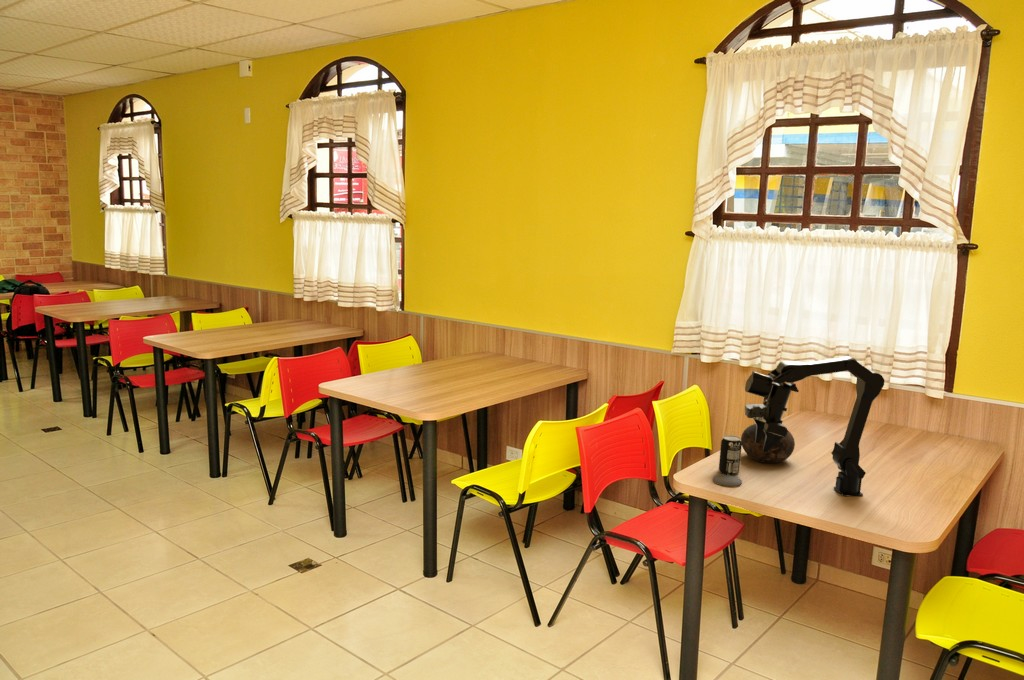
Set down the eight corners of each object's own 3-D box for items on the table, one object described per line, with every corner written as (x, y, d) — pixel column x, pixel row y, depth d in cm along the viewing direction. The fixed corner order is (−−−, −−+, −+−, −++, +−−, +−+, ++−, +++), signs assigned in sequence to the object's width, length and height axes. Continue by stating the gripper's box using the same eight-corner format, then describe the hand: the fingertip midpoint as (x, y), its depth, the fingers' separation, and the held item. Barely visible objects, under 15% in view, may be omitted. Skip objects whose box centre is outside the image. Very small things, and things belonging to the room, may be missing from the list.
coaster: (735, 477, 252) (735, 474, 252) (746, 487, 244) (746, 484, 243) (708, 476, 251) (708, 474, 251) (718, 486, 243) (719, 484, 242)
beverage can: (723, 467, 261) (726, 433, 259) (742, 472, 257) (745, 437, 255) (715, 472, 256) (718, 437, 254) (733, 477, 252) (737, 442, 250)
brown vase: (801, 460, 272) (809, 383, 267) (777, 471, 260) (786, 390, 255) (754, 448, 284) (762, 374, 280) (730, 457, 272) (737, 380, 267)
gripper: (744, 386, 248) (729, 431, 251) (760, 401, 230) (743, 449, 232) (778, 396, 248) (762, 441, 251) (795, 411, 230) (778, 459, 232)
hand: (760, 447), depth 242 cm, fingers open, 9 cm apart
